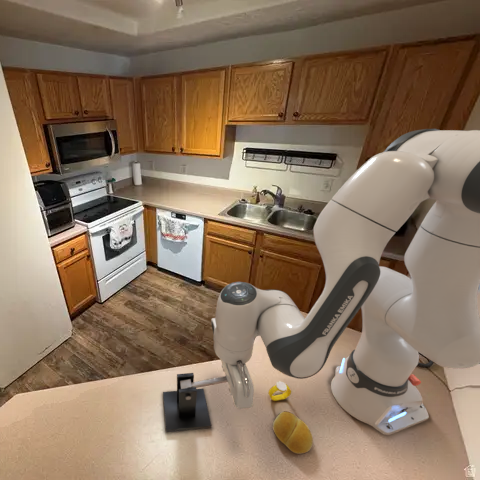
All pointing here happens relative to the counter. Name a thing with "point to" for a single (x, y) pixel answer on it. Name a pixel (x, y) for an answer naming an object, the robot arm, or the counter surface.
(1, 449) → the counter surface
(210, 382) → the lever
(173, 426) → the bracket
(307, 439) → the bread roll
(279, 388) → the watch
